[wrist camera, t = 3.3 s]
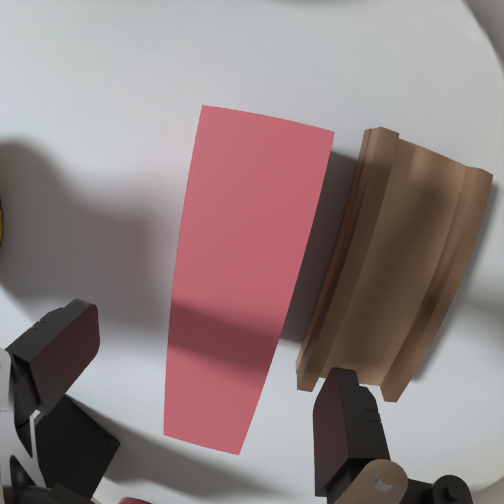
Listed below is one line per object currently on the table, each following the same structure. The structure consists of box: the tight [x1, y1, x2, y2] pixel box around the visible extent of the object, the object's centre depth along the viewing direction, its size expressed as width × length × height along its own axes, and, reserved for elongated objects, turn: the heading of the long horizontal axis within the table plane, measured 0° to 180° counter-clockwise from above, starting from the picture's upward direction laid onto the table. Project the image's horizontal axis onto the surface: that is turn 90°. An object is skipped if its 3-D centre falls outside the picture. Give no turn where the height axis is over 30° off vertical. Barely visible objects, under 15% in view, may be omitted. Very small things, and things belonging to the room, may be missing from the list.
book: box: [164, 105, 335, 455], centre depth 16 cm, size 4×15×12 cm, turn 168°
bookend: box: [34, 395, 120, 500], centre depth 25 cm, size 23×11×24 cm, turn 132°
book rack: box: [296, 127, 493, 402], centre depth 20 cm, size 9×19×4 cm, turn 168°
